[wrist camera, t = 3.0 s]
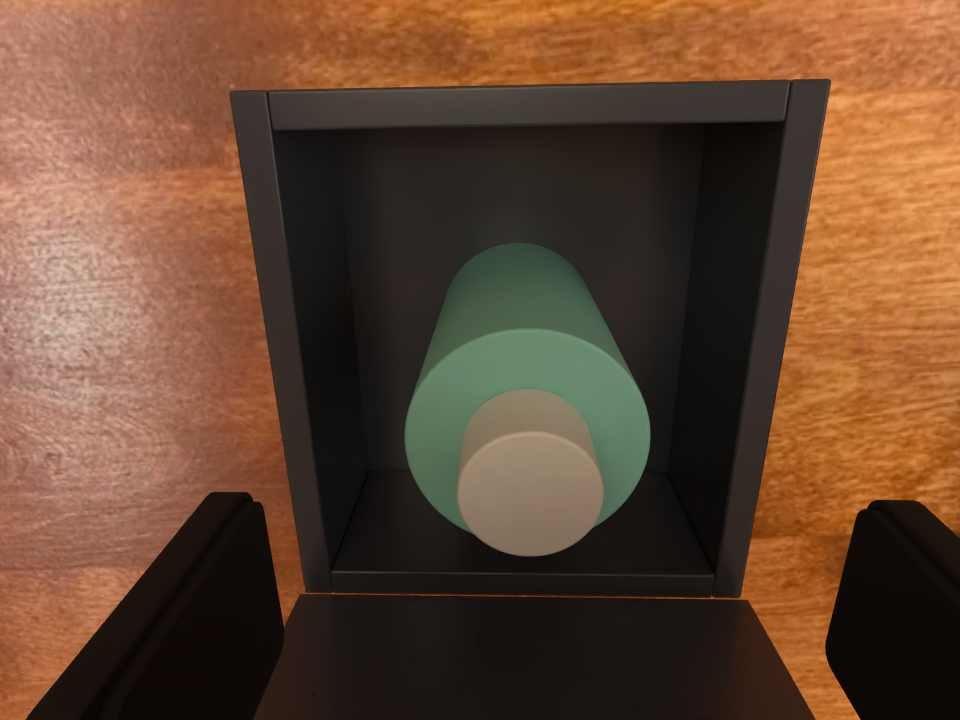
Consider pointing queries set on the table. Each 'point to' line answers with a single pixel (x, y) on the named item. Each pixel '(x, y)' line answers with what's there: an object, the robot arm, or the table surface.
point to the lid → (527, 660)
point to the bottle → (525, 406)
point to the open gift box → (575, 236)
